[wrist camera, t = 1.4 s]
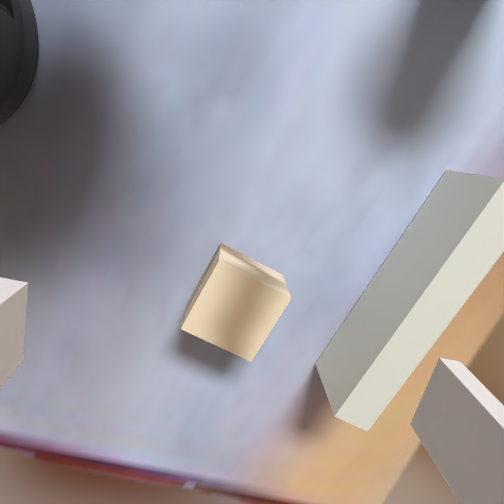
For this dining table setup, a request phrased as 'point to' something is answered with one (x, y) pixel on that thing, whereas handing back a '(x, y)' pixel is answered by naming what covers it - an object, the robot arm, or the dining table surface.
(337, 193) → the dining table surface
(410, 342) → the board
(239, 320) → the birch block
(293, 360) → the dining table surface
